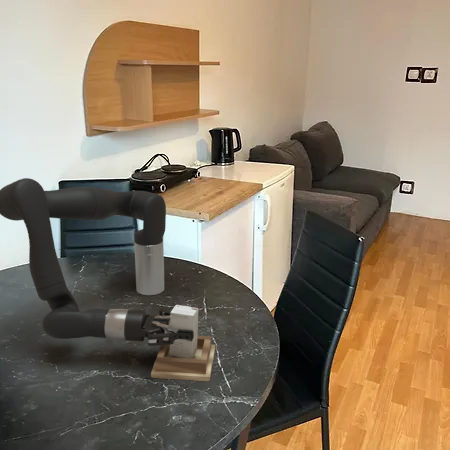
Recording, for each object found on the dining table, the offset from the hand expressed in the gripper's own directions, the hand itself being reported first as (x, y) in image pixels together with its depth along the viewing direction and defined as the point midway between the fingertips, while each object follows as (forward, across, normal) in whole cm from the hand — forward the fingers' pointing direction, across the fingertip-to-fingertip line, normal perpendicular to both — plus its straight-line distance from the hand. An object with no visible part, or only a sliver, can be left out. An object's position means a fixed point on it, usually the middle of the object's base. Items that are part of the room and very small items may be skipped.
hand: (194, 329), depth 117 cm
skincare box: (-3, 0, +7) cm, 8 cm away
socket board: (-2, 0, +10) cm, 10 cm away
